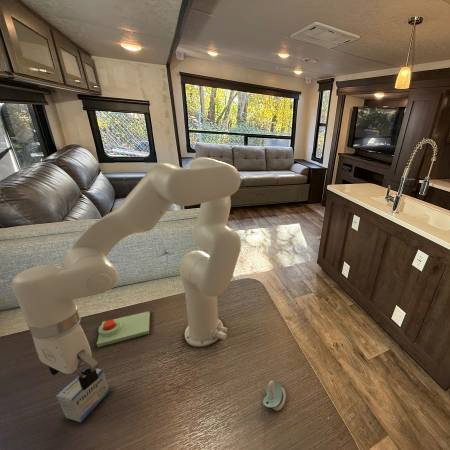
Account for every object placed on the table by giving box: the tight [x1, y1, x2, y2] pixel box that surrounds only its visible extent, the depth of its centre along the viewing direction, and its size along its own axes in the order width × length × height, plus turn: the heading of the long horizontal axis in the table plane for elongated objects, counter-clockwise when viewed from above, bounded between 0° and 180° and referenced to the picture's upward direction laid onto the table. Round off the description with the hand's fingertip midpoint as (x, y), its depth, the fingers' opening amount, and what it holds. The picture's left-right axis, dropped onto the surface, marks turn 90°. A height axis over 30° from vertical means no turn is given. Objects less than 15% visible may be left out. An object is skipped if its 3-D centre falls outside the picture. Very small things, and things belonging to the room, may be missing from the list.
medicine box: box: [55, 367, 110, 423], centre depth 61 cm, size 8×4×9 cm, turn 168°
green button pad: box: [96, 311, 151, 348], centre depth 84 cm, size 14×10×3 cm
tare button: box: [103, 319, 115, 331], centre depth 82 cm, size 3×3×2 cm
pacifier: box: [262, 379, 287, 411], centre depth 67 cm, size 7×6×6 cm
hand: (75, 376), depth 58 cm, fingers open, 9 cm apart
